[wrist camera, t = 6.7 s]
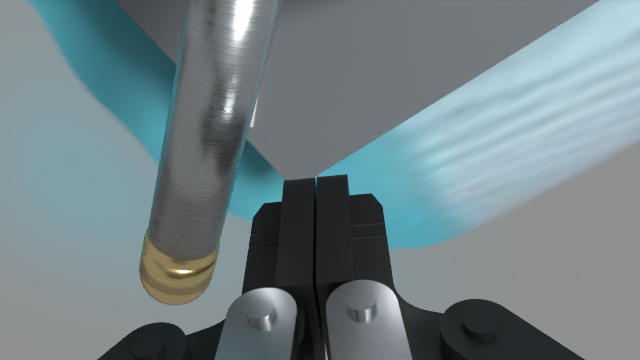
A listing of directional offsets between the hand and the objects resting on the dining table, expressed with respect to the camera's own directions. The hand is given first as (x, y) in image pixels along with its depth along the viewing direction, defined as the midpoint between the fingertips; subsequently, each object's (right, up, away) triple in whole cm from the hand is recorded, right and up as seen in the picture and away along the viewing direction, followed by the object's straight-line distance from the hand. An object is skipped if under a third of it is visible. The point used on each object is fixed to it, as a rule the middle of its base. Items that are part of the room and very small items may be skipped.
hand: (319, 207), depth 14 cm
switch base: (+1, +11, 0) cm, 11 cm away
